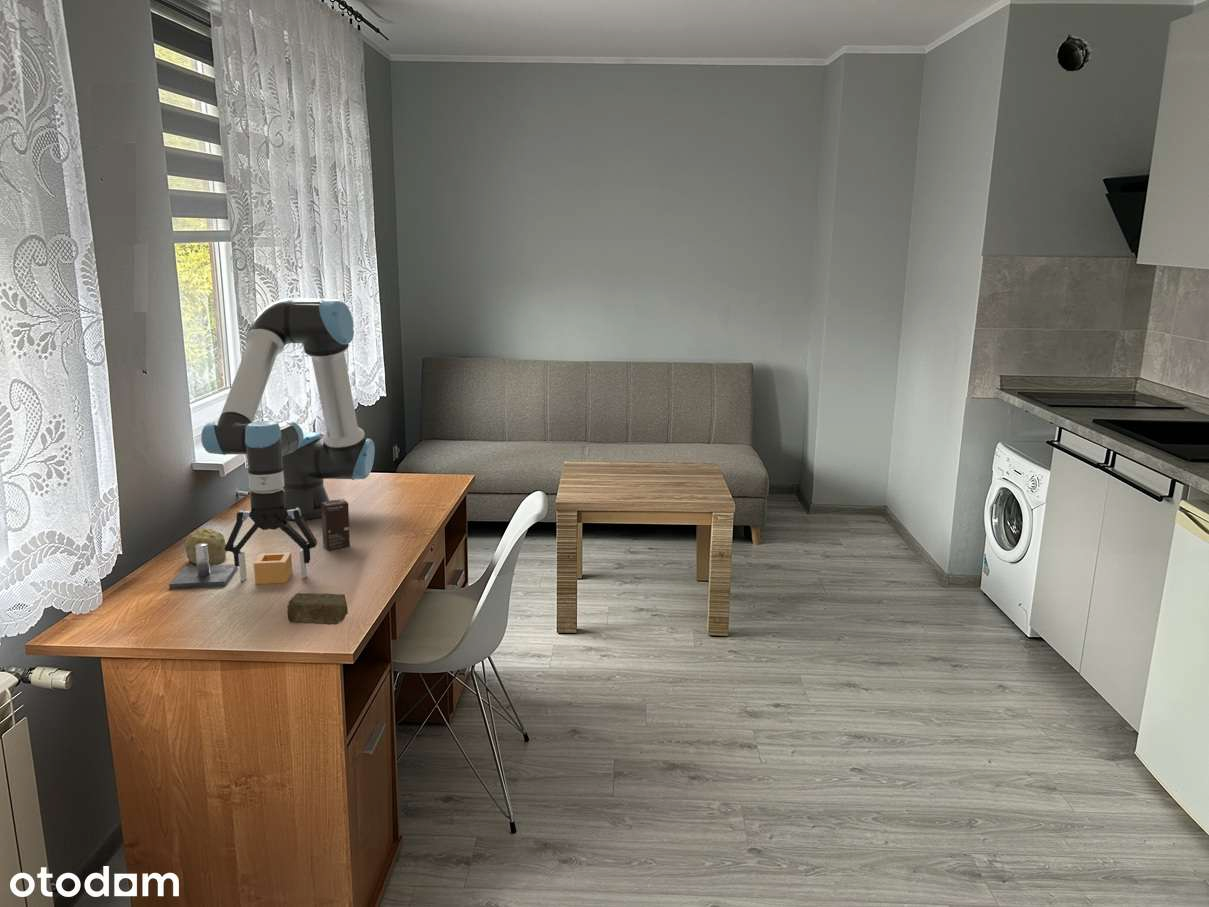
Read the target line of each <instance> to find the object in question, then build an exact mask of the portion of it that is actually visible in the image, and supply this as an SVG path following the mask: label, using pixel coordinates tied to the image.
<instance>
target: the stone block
mask: <svg viewBox="0 0 1209 907" xmlns="http://www.w3.org/2000/svg"><path fill="white" fill-rule="evenodd" d="M346 598H347V597H346V594H343V593H339V594H337V593H327V592H325V593H320V592H319V593H318V592H317V593H315V592H311V593H309V592H298V593H295V595H294V596H292V597H291V598H290V599H289V601H288V605H287V611H286V612H287V615H286V616H287V620H288V621H289V622H290V623H295V624H315V625H317V624H318V625H337V624H339V623H342V622H343V621H344V620H345V619H346V616H347V615H348V614H349V612H348V611H349V609H348V604H347V599H346Z"/></svg>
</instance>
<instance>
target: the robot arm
mask: <svg viewBox="0 0 1209 907" xmlns="http://www.w3.org/2000/svg"><path fill="white" fill-rule="evenodd" d="M354 327H355V326H354V319H353V315H352V313H351V311H350V308H349V307H348V305H347V304H346V303H345V302H344V301H342V300H340V299H334V298H332V299H331V298H327V297H326V298H325V297H324V298H283V299H279V300H277V301H274V302H272V303H271V304H269V305H268V306H266V307H265V308H264V309H263V310H261V312H259V313H258V315H257V316H256V317H255V318H254V320H253V321H252V322H251V324H250V325H249V327H248V328H247V329H248V330H247V332H246V335H245V341H246V342H245V343H246V346H245V349H244V352H243V355H242V358H241V361H240V363H239V366H238V368H237V370H236V373H235V377H234V379H233V381H232V384H231V387H230V390H229V393H228V395H227V398H226V400H225V403H224V406H223V408H222V411H221V413H220V416H219V418H218V421H217V422H216V421H212V422H208V423H206V424H205V425H204V426H203V427H202V430H201V436H200V438H201V439H200V440H201V441H200V442H201V445H202V447H203V448H204V450H205V451H206V452H207V453H208V454H214V455H223V456H226V455H246V460H247V472H248V475H247V476H248V486H249V490H251V491H250V492H249V497H250V498H249V499H250V501H249V502H250V511H248V510H244V509H240V510H238V512H237V513H236V522H235V524H234V526H233V529H232V531H231V533H230V535H229V538H228V540H227V542H226V543H225V544H226V546H225V551H226V552H231V553H232V554H233V559H234V560H233V562H234V563H233V564H235V566H237V567H239V568H238V569H239V579H240V582H245V580H246V579H247V567H246V566H247V565H246V553H245V550H242V549H243V547H244V546H245V545H246V543H247V542H248V541H249V539H251V537H252V536H253V535H254V534H255V532H257V530H258V529H260V530H262V531H266V530H278V529H280V530H281V531H283V532H284V533H285V534H286V535H287V536H288V537H290V539H291V540H293V541H294V543H296V544H297V545H298V546H299V547H300V550H299V561H300V563H299V564H300V575H301V577H300V578H301V579H305V578H306V576H307V572H308V571H307V564H309V563H310V561H311V550H310V549H314V548H316V546H317V545H318V540H317V538H316V537H315V534H313V532H312V530H311V528H309V526H308V524H307V522H306V520H307V521H308V520H313V519H317V518H322V510H321V502H326V501H331V500H330V498H329V494H328V493H327V490H326V488H325V485H324V480H352V481H354V480H364V479H366V478H368V477H369V476H370V474H371V471H372V470H373V467H374V466H373V465H374V460H375V453H376V452H375V442H374V441H373V440H372V439H371V438H366V434H365V430H363V428H361V427H359V426H358V422H357V416H356V415H357V414H356V411H355V410H356V409H355V405H354V404H355V403H354V399H353V394H352V388H351V382H350V375H349V371H348V366H347V365H348V364H347V360H346V354H345V353H346V351H347V350H348V349H349V347H350V343H352V341H353V340H354V335H355V331H354ZM287 344H302V346H303V351H304V353H305V354H306V355H307V356H309V357H311V360H312V361H311V362H312V367H313V370H314V377H315V381H316V386H317V390H318V394H319V395H318V397H319V401H320V406H321V412H322V416H323V421H324V427H325V429H326V432H325V433H324V434H323V435H321V433H320V432H315V431H312V432H311V431H310V432H303V430H302V428H301V426H300V425H299V424H297V423H296V422H294V421H292V420H285V421H279V422H276V421H272V420H261V421H260V420H259V421H255V422H254V420H255V418H256V415H257V411H258V409H259V406H260V403H261V401H262V398H263V395H264V392H265V390H266V386H267V384H268V381H269V379H270V376H271V372H272V371H273V370H272V369H273V367H274V365H275V362H276V359H277V355H280V354H281V353H282V352H283V351H284V349H285V346H286V345H287ZM248 518H250V519H251V521H252V522H253V525H252V526H251V527H250V529H249V530H248V531H247V532H246V533H245V535H244V536H243V537H242V538H241V539H240V541H239V542H238V543H237V545H234V544H235V542H236V540H237V538H238V536H239V533H240V531H241V528H242V527H243V523H244V522H245V521H247V519H248ZM288 521H294V522H295V523H296V525H297V526H298V528H299V530H300V532H301V533H302V535H303V536H304V537H305V538H304V537H303V536H302V535H301V534H300V533H299V532H298V531H297V530H296V529H295V528H294V527H293V526H292V525H291V524H290V523H289V522H288Z"/></svg>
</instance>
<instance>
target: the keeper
mask: <svg viewBox="0 0 1209 907" xmlns="http://www.w3.org/2000/svg"><path fill="white" fill-rule="evenodd" d="M195 548H196V558H197V565H188V566H187V565H185V566H184V567H182V569H181V570H180V571H179V572H178V574H176V576H175V577H174V578H173V579H172V580H171V581H170V582H169V583H168V587H169V590H177V589H178V590H179V589H181V590H182V589H196V588H200V589H201V588H219V587H226V586H227V584H228V583H229V582H230V581H231V579H232V577H233V576H234V575H235V573H236V571H237V570H238V569H239V568H238V567H239V566H235V564H234V563H230V564H229V563H228V564H210V565H209V555H208V544H206V543H201V544H197V545H195Z"/></svg>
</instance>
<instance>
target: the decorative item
mask: <svg viewBox="0 0 1209 907" xmlns="http://www.w3.org/2000/svg"><path fill="white" fill-rule="evenodd" d="M201 543H206V544H208V555H209V565H217V564H219V563H221V562H224V561H225V560H226V559H227V558H226V557H227V556H226V555H227V551H225V546H226V544H227V543H226V539H225V537H224V535H223V534H222V533H221V532H218V531H217V530H214V529H213V528H207V527H204V528H202V529H197V530H195V531H193V532H191V533H189V535H188V536H187V538H186V540H185V543H184V548H185V553H186V557H187V559H188V562H189V563H193V564H195V566H197V558H196V548H195V545H197V544H201Z"/></svg>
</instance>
